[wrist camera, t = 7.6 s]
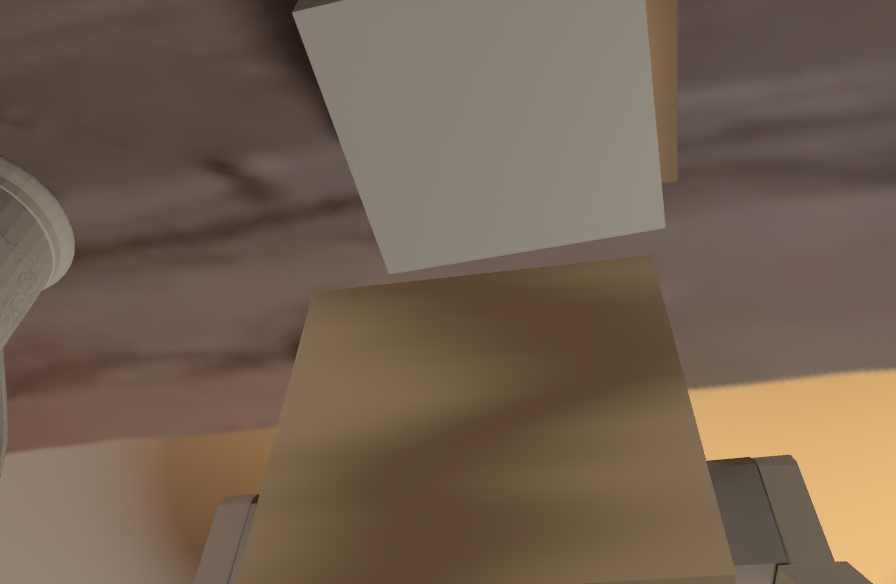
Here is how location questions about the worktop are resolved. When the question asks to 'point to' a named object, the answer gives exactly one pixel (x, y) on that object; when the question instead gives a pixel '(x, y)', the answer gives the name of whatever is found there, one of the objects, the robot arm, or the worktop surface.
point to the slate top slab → (490, 121)
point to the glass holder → (26, 256)
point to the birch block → (490, 438)
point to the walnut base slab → (664, 81)
